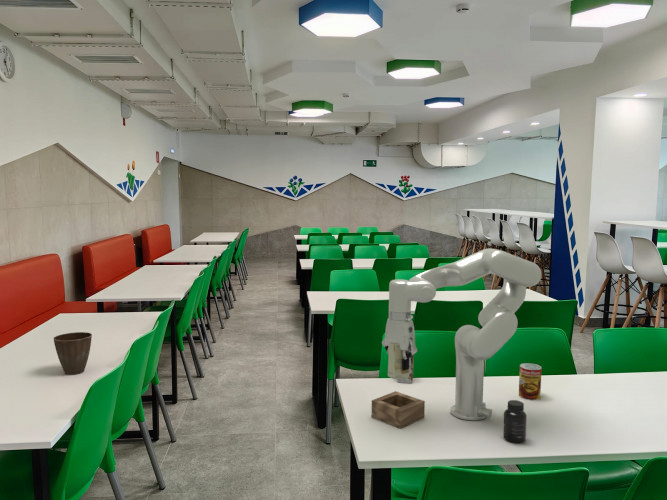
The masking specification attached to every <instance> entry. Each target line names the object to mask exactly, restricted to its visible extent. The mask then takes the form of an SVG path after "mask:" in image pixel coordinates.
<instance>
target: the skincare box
mask: <svg viewBox="0 0 667 500" xmlns="http://www.w3.org/2000/svg"><path fill="white" fill-rule="evenodd" d="M409 348H410V347H409ZM406 354H407V352H406ZM402 359H404V358H403V353H402V350H400V349H399V345H398V344H395V343H391V342H389V355H388V362H387V363H388V364H387V377H389V378H390V379H393V380H395V381H396V380H397V379H401V378H408V377H409V369H407V370H404V371H403V370H402Z"/></svg>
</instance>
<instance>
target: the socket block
mask: <svg viewBox="0 0 667 500" xmlns="http://www.w3.org/2000/svg"><path fill="white" fill-rule="evenodd" d="M425 404H426V401H425V400H423V399H419V398H417V397H414V396H411V395H408V394H406V393H402V392H399V391H392V392H389V393H387V394H385V395H381V396H380V397H377V398H374V399H371V418H373V419H376V420H378V421H381V422H383V423H385V424H388V425H390V426H392V427H396V428H397V429H400V430H401V429H403V428H405V427H408V426H410V425H411V424H414V423H416V422H419V421H420V420H422V419H425V411H426V410H425Z"/></svg>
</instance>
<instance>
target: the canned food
mask: <svg viewBox="0 0 667 500" xmlns="http://www.w3.org/2000/svg"><path fill="white" fill-rule="evenodd" d="M542 369H543V368H542V365H541V366H540V365H539V364H535V363H529V362H528V363H527V362H526V363H525V362H524V363H521V364H519V375H518V376H519V379H518V380H519V381H518V396H519V398H521V399H524V400H529V401H538V400H540V399H541V394H542V393H541V392H542V391H541V388H542V387H541V386H542Z"/></svg>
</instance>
